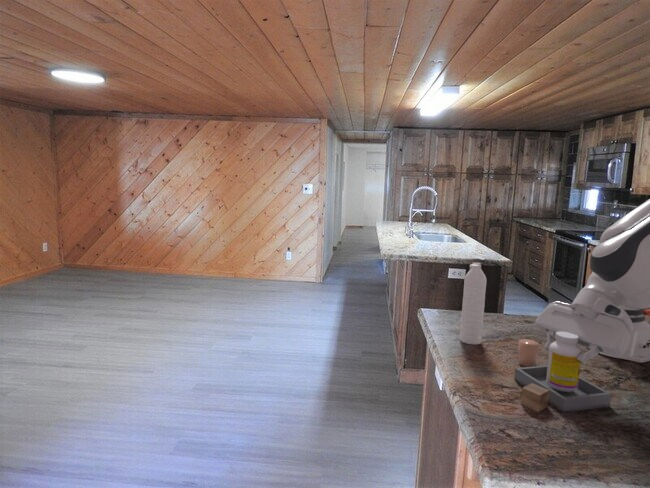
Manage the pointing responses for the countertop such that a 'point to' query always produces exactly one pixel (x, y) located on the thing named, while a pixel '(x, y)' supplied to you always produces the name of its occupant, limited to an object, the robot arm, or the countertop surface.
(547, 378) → the supplement bottle
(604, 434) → the countertop surface
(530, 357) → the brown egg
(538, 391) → the walnut block
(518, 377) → the tray
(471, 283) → the water bottle
